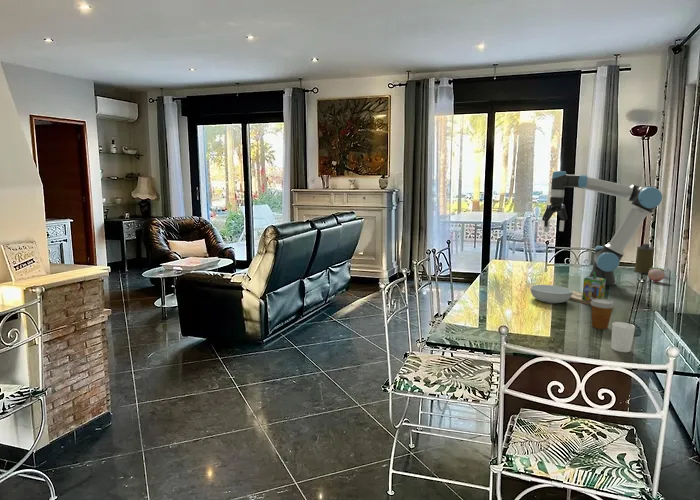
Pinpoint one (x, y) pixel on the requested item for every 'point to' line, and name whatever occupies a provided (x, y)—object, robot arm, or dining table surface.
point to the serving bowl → (551, 293)
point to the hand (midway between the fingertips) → (553, 231)
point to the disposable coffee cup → (601, 312)
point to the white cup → (622, 336)
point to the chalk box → (593, 288)
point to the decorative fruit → (656, 274)
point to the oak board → (579, 298)
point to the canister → (644, 259)
